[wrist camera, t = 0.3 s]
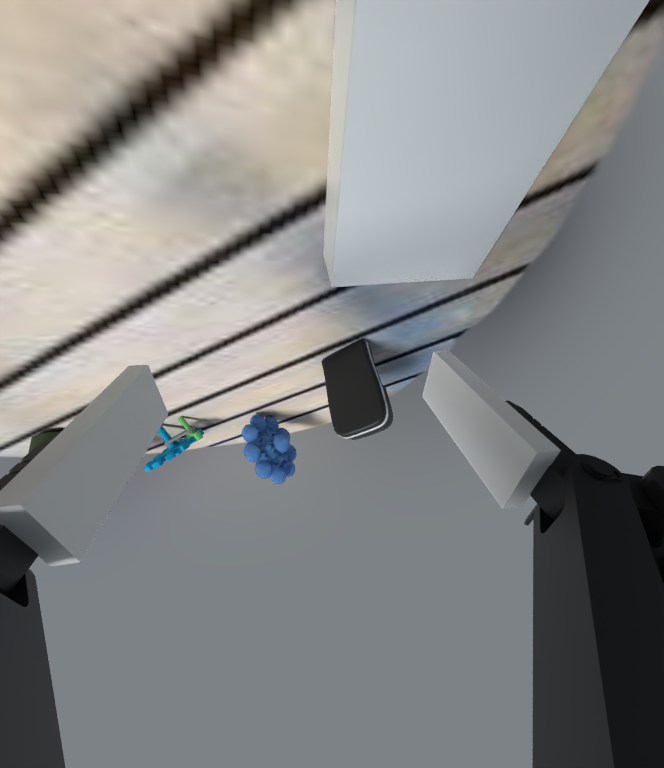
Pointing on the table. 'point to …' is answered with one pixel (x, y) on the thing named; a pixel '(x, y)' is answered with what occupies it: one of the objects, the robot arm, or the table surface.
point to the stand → (450, 124)
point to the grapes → (269, 448)
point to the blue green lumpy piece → (174, 444)
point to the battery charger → (356, 392)
